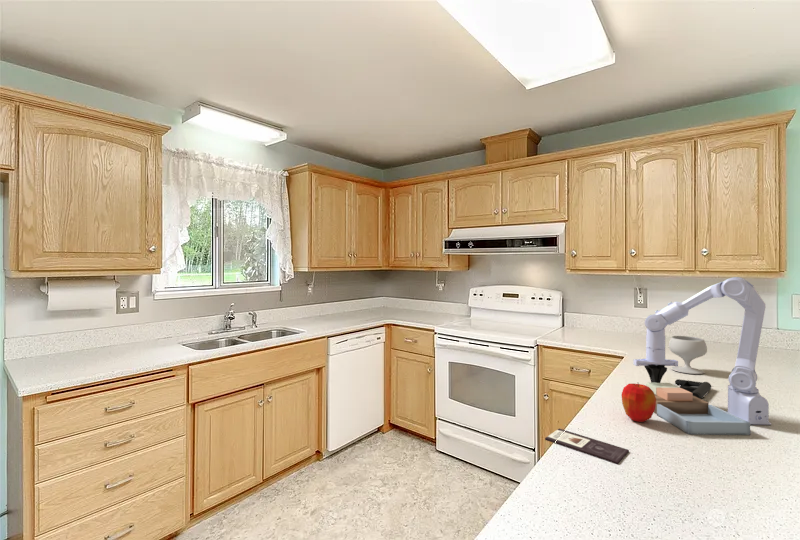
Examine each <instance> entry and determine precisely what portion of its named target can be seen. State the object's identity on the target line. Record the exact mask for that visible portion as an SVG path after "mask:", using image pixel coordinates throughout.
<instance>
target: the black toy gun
mask: <svg viewBox="0 0 800 540" xmlns="http://www.w3.org/2000/svg"><path fill="white" fill-rule="evenodd" d="M674 383H675V384H674V385H676V384H677V385H676V386H679V385H681V386H679V387H680V388H682V389H685V390H687V391H689V392H691V393H693V396H695V397H697V398H700V399H703V398H702V397H704V396H705V395H706V394H707V393H708V394H709V391H710V390H712V387H714V386H713V385H712V384H711V383H710V382H708V381H704V382H703V381H694V380H688V379H687V380H686V379H680V378H679V379H676V380H675V381H674ZM708 394H707V395H708ZM707 395H706V396H707ZM706 396H705V397H706ZM705 397H704V398H705Z"/></svg>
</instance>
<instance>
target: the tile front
mask: <svg viewBox="0 0 800 540" xmlns="http://www.w3.org/2000/svg"><path fill="white" fill-rule="evenodd" d="M657 395H658V396H660V397H661V398H663V399H665V400H667V401H693V393H691V392H689V391H687V390H685V389H682V388H657Z"/></svg>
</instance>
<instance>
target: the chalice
mask: <svg viewBox="0 0 800 540" xmlns="http://www.w3.org/2000/svg"><path fill="white" fill-rule="evenodd" d="M668 349H669V351H670V352H671V353H673V354H674V355H675V356H678V357H679V358H681V359H682V360H683V362H684V365H683V366H680V365H678V366H670V369H671V370H672V371H675V372H679V373H682V374H688V375H689V374H690V375H702V374H705V371H704V370H702V369H700V368H699V369H698V368H695V367H692V366H691V362H692V361H693V360H695V359H698V358H701V357H703V356H705V355H706V354H707V352H708V347H707V343H706V341H705V339H704V338H701V337H695V336H688V335H672V336H671V337H670V339H669V342H668Z"/></svg>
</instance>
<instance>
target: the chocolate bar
mask: <svg viewBox="0 0 800 540" xmlns="http://www.w3.org/2000/svg"><path fill="white" fill-rule="evenodd" d="M565 430H566V429H562V428H557V429H556V430H554V432H551V433H550V434H549V435H548V436H546V437H544V440H545V441H546V442H550V443H553V444H556V445H559V446H561V447H565V448H567V449H571V450H574V451H577V452H579V453H582V454H586V455H588V456H591V457H595V458H598V459H600V460H604V461H606V462H610V463H612V464H615V465H618V464H620V462H622V460H623V459H624V458H625V457H626V456H627V455H628V453H629V452H630V449H627V448H625V447H620V446H618V445H614V444H612V443H608V442H605V441H600V440H598V439H595V438H592V437H588V436H585V435H581V434H578V433H575V432H571V431H568V430H566V431H565ZM564 431H565V432H564ZM563 432H564V433H563ZM562 433H563V434H562ZM561 434H562V435H561ZM560 435H561V436H560ZM559 437H560V438H559ZM558 438H559V439H558ZM557 439H558V440H557ZM556 440H557V441H556ZM555 441H556V443H554V442H555Z"/></svg>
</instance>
